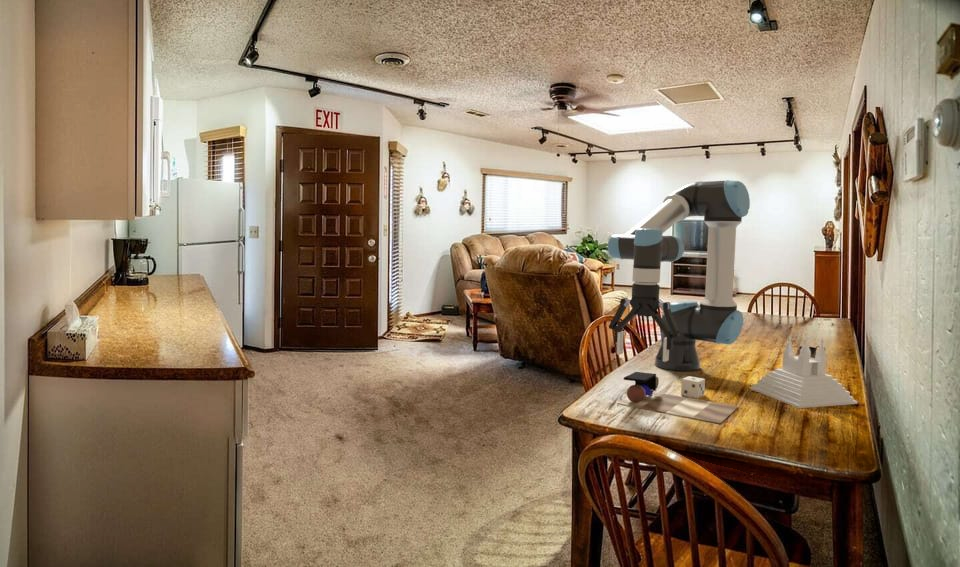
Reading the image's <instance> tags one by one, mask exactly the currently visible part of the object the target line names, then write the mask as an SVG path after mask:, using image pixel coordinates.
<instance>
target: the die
mask: <svg viewBox="0 0 960 567" xmlns="http://www.w3.org/2000/svg"><path fill="white" fill-rule="evenodd" d="M705 384H706V379H705V378H703V377H696V376H691V375H688V376H686V377H683V378H682V379H681V386H680V387H681V388H680V390H681V391H680V392H681V393H680V396H682V395H684V396H683V397H687V396H688V397H687V398H692V397H694V398H693V399H697V398H698V399H700V398H702V397H704V396H705V389H706V387H705V386H706V385H705ZM703 395H704V396H703ZM701 396H702V397H701ZM699 397H700V398H699Z"/></svg>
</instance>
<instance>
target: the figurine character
mask: <svg viewBox="0 0 960 567" xmlns="http://www.w3.org/2000/svg"><path fill="white" fill-rule="evenodd" d="M623 380H624V381H631V382H635V383H634V384H632V385H630V386H629V387H628V388H627V390H626V397H628V399H629V400H630V401H632V402H635V403H638V402H641V401H643V400H644V398H645V396H646V395H648V396H649V395H651V394H653V392H657V389H658V387H659V381H660V379H659V377H658V376H657V374H656V373H651V372H643V371H635V372H632V373H630V374H628V375H626V376H624V377H623Z"/></svg>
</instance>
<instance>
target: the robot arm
mask: <svg viewBox="0 0 960 567" xmlns="http://www.w3.org/2000/svg"><path fill="white" fill-rule="evenodd" d="M750 200H751V199H750V195H749V191H748V189H747V187H746V185H745V184H744V183H743V182H741V181H739V180H716V181H715V180H714V181H713V180H712V181H710V180H709V181H694V182H691V183H688V184H686V185H683V186H681V187H680V188H679V187H678V189H676V190H674V191H673V192H671V193H670V194H669V195H667V196H666V197H664V200H663V202H662V204H661V205H659V206H658V207H657V208H655V209H654V210H653V211H652V212H650V213H649V214H648V215H647V216H646V217H644V218H643V219H642V220H641V221H639V222H637V223H636V224H635V225H634V226H633V227H632V228H630V229H629V230H627V232H625V233H624V234H622V233H619V234H613V235H611V236H610V237H609V239H608V241H607V250H608V251H607V252H608V254H609V256H610V257H611V258H613V259H619V260H632V261H633V264H632V266H633V267H632V280H631V281H632V282H634V283H632V285H631V299H629V298H627V297H623V298H621V299H620V302H619V306H618V307H617V310H616V313H615V314H614V316H613V317H612V319H611V321H610V323H609V324H608V329H611V330H612V331H614V343H616V355H618V356H619V355H622V354H624V336H625V335H624V334H625V332H624V331H622V330H623V329H624V328H625V327H626V326H627V325H628V323H630V321H631V320H632V319H633V318H635V316H637V317H642V316H643V317H648V318H649V317H651V319H653V320H654V321H655V323H656V324H657V326H658V327H659V328H660V330H661V336H660V337H661V338H660V339H661V340H660V341H661V342H660V346H659V348H658V351H657V353H656V356H655V360H654V365H655V366H656V367H658V368H661V369H666V370H670V371H671V370H672V371H680V372H681V371H682V372H686V371H687V372H688V371H689V372H691V371H693V372H694V371H697V370H699V369H701V368H700V366H701V363H700V358H699V355H698V351H697V347H696V342H697V341H702V342H708V343H714V344H718V345H732V344H734V343H735V342H736V341H737V340H738V338H739V337H740V335H741V333H742V329H743V325H744V316H743V312H742V311H741V310H739V309H738V304H737V302H736V301H734V299H733V294H734V293H733V292H734V277H735V276H734V275H735V260H736V259H735V258H736V239H737V238H736V237H737V227H738V226H739V225H740V224H742V220H743V219H742V218H744V217H745V216H747V215H748V213H749V210H750V205H751V204H750V203H751V201H750ZM689 217H703V223H704V224H705V225H707V227H708V229H707V230H708V232H707V234H708V235H707V252H706V255H707V256H706V272H705V274H706V275H705V291H704V292H705V295H704V299H702V300H701V301H700V302H699V303H698V302H697V301H692V300H689V301H671V302H670V301H666V302H665V301H664V302H660V299H659V298H660V287H661V286H660V284H659V283H660V281H661V263H664V262H666V263H668V262H669V263H672V262H675V261H678V260H679V259H681V258H682V256H683V255H684V252H685V244H684V242H683V240H681V238H679V237H678V236H673V235H663V234H664V233H665V232H666V231H668V230H669V229H670V228H671V227H672V226H673V225H675V224H676V223H677V222H681V221H684V220H686V218H689ZM629 305H630V307H631V310H630V311H628V314H627V315H626V316H625V317H624V318H623V319H622V320H621V318H622V316H623V314H624V313H625V311H626V308H627V307H628V306H629ZM660 308H661V310H662V313H661V314H660V312H659V311H658V310H659V309H660ZM620 320H621V321H620Z"/></svg>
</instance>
